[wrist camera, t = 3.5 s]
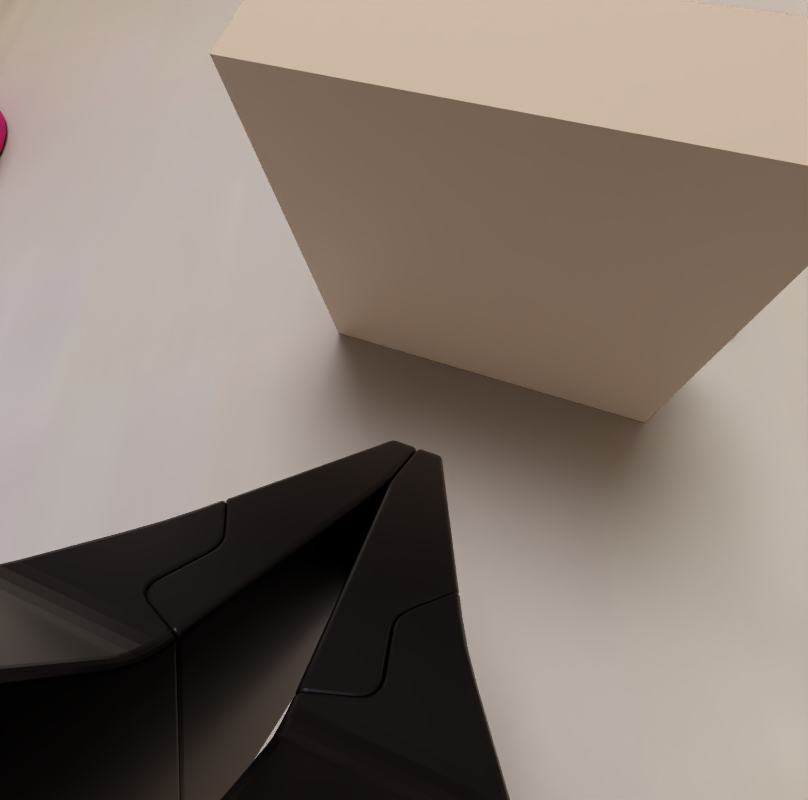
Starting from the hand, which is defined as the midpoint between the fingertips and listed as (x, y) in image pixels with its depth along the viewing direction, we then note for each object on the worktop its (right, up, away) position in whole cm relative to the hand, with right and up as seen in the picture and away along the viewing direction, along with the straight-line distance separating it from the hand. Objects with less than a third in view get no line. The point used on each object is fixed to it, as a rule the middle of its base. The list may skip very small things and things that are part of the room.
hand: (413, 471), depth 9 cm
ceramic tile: (+3, +3, +10) cm, 11 cm away
